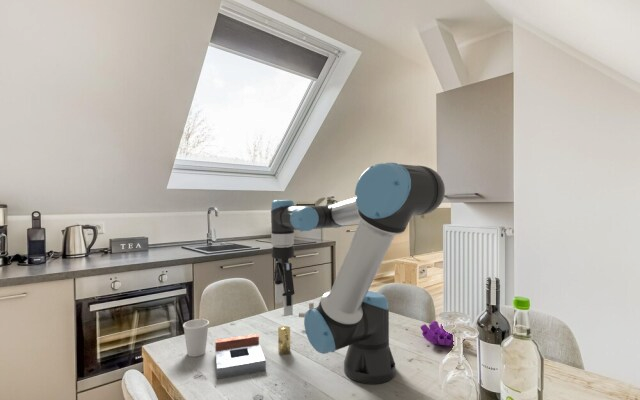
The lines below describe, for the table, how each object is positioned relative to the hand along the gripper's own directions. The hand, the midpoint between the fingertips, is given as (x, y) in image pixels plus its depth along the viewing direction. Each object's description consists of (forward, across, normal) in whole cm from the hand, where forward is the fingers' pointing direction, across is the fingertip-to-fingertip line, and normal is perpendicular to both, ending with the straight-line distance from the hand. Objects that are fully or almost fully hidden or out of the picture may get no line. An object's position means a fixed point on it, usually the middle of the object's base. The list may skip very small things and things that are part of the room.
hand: (283, 308), depth 112 cm
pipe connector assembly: (+14, -13, -53) cm, 57 cm away
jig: (+14, -2, +15) cm, 21 cm away
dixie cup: (+15, +10, +28) cm, 33 cm away
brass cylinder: (+14, 0, 0) cm, 15 cm away
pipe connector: (+15, +17, -15) cm, 27 cm away
